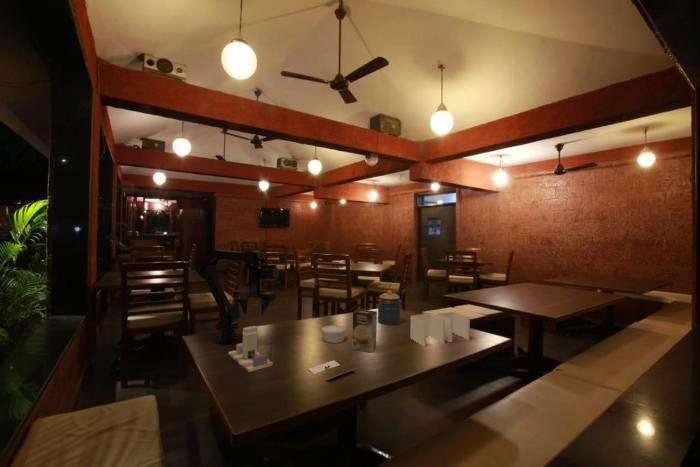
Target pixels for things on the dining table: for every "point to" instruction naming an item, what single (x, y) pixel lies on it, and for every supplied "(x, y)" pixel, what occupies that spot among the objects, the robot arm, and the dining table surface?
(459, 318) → the white folding screen
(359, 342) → the coffee box
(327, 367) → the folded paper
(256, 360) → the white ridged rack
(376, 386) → the dining table surface
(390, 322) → the canister
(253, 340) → the marker sleeve
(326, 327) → the ramekin
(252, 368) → the cable comb board
